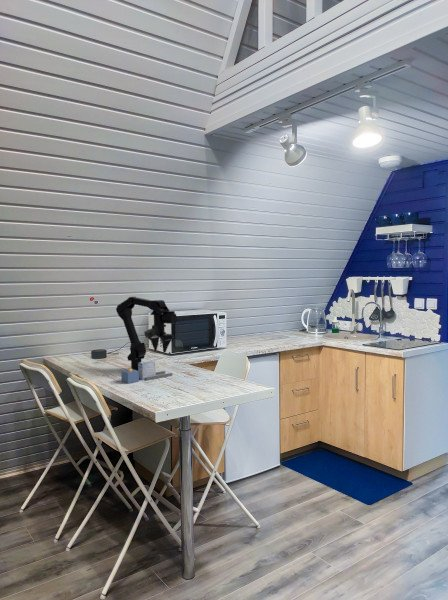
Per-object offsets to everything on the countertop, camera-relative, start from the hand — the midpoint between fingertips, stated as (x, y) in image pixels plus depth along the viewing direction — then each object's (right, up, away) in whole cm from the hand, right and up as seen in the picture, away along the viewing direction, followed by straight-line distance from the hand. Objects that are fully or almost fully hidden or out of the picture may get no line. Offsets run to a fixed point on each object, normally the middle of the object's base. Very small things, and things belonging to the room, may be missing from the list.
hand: (159, 351), depth 247 cm
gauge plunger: (-13, -11, -18) cm, 25 cm away
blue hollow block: (-13, -13, -18) cm, 26 cm away
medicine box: (-5, -13, -12) cm, 18 cm away
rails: (-1, -13, -8) cm, 15 cm away
